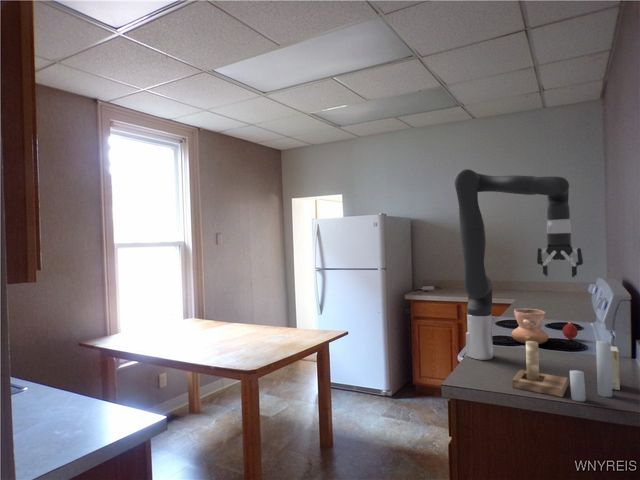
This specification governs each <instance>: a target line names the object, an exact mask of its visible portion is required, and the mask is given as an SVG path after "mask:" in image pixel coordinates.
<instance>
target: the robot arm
mask: <svg viewBox="0 0 640 480" xmlns="http://www.w3.org/2000/svg"><path fill="white" fill-rule="evenodd" d="M454 187H455V191H456V195H457V203H458V214H459V215H458V217H459V218H458V219H459V235H460V242H461V250H462V256H463V261H464V289H465V293H466V294H467V296H468V297H467V307H466V320H467V321H466V323H467V332H465V349H466V357H469V358H471V359H476V360H481V361H483V360H485V361H487V360H491V359H492V358H494V355H493V354H494V350H493V316H492V314H493V313H492V309H493V285H492V281H491V279H490V277H489V276H487V274H486V269H485V267H486V266H485V253H486V243H487V242H486V231H485V224H484V219H483V215H482V213H481V212H482V211H481V209H480V205H479V198H478V197H479V195H478V194H479V193H484V192H485V193H487V192H493V193H494V192H495V193H504V194H505V193H506V194H513V195H526V196H534V195H538V196H539V195H540V196H541V195H543V196H546V197H547V219H546V221H547V222H546V237H547V238H546V240H547V241H546V242H547V244H546V245H547V246H546V248H542V247H539V248H537V256H536V257H537V258H536V259H537V260H536V263H537V264H538V265H540V266H541V265H542V273H543V275H544V276H545V277H548V276H549V266H548V265H549V263H550V262H551V261H552V260H554V261H557V260H559V261H565V260H567V262H569V264H571V277H572V278H575V277H576V276H577V275H578V267H579V266H582V265H583V264H584V259H583V258H584V257H583V250H582V248H581V247H577V248H573V247H572V226H571V218H570V213H571V212H570V206H569V190H570V183H569V180H568V179H566V178H564V177H562V176H533V175H489V174H488V175H487V174H483V173H477V172H476V171H475V170H472V169H467V168H464V169H462V170H460V171H458V172H457V174H456V175H455V177H454ZM573 252H574V254H575V255H577V261H575V259H574V258H573V257H572V256H571V254H572V253H573ZM545 253H547V254H548V256H547V258H546V259H545V260H543V254H545Z"/></svg>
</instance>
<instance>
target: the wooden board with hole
mask: <svg viewBox="0 0 640 480" xmlns="http://www.w3.org/2000/svg"><path fill="white" fill-rule="evenodd" d="M568 382H569V381H568V377H565V376H558V375H553V374H547V373H542V372H541V373H540V372H539V382H537V381H531V380H527V370H524V369H520V370H518V372H517V373H516V374H515V376H514V377H513V378H512V388H514V389H518V390H519V389H520V390H525V391H529V392H533V393H534V392H535V393H540V394H545V395H549V396H550V395H551V396H556V397H560V398H563V397H564V395H565V393H566V390H567V388H568V386H569V385H568V384H569V383H568Z"/></svg>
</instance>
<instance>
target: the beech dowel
mask: <svg viewBox="0 0 640 480" xmlns="http://www.w3.org/2000/svg"><path fill="white" fill-rule="evenodd" d="M539 359H540V358H539V344H538V342H535V341H526V344H525V360H526V361H525V362H526V363H525V364H526V371H527V380H531V381H537V382H539V373H540V364H539V363H540V360H539Z"/></svg>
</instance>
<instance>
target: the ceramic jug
mask: <svg viewBox="0 0 640 480" xmlns="http://www.w3.org/2000/svg"><path fill="white" fill-rule="evenodd" d="M513 314H514V317H515V320H516V322H517V324H518V326H517V327H516V328H515V329H513V330H512V331H511V337H512V338H513V339H514V340H515V341H516V342H519V343H520V344H525V345H526V341H535V342H538V345H541V344H545V343H546V342H547V341H548V339H549V335H548V333H546V331H544V330H543V329H542V328H541V326H542V324H543V321H544V319H545V317H546V312H545V311H544V310H541V309H535V308H515V309H513Z"/></svg>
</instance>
